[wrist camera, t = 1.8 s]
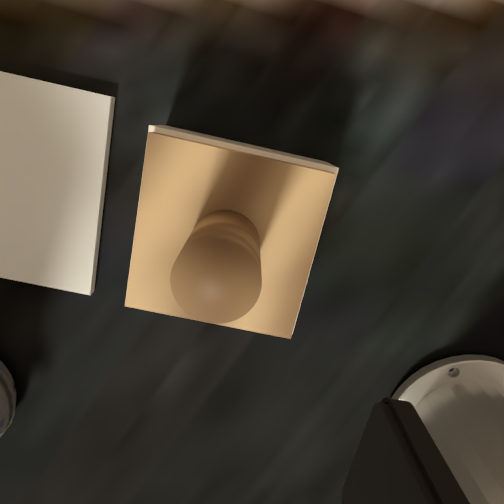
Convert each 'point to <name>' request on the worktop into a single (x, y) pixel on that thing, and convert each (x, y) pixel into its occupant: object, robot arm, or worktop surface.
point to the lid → (225, 235)
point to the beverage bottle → (6, 398)
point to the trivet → (52, 181)
